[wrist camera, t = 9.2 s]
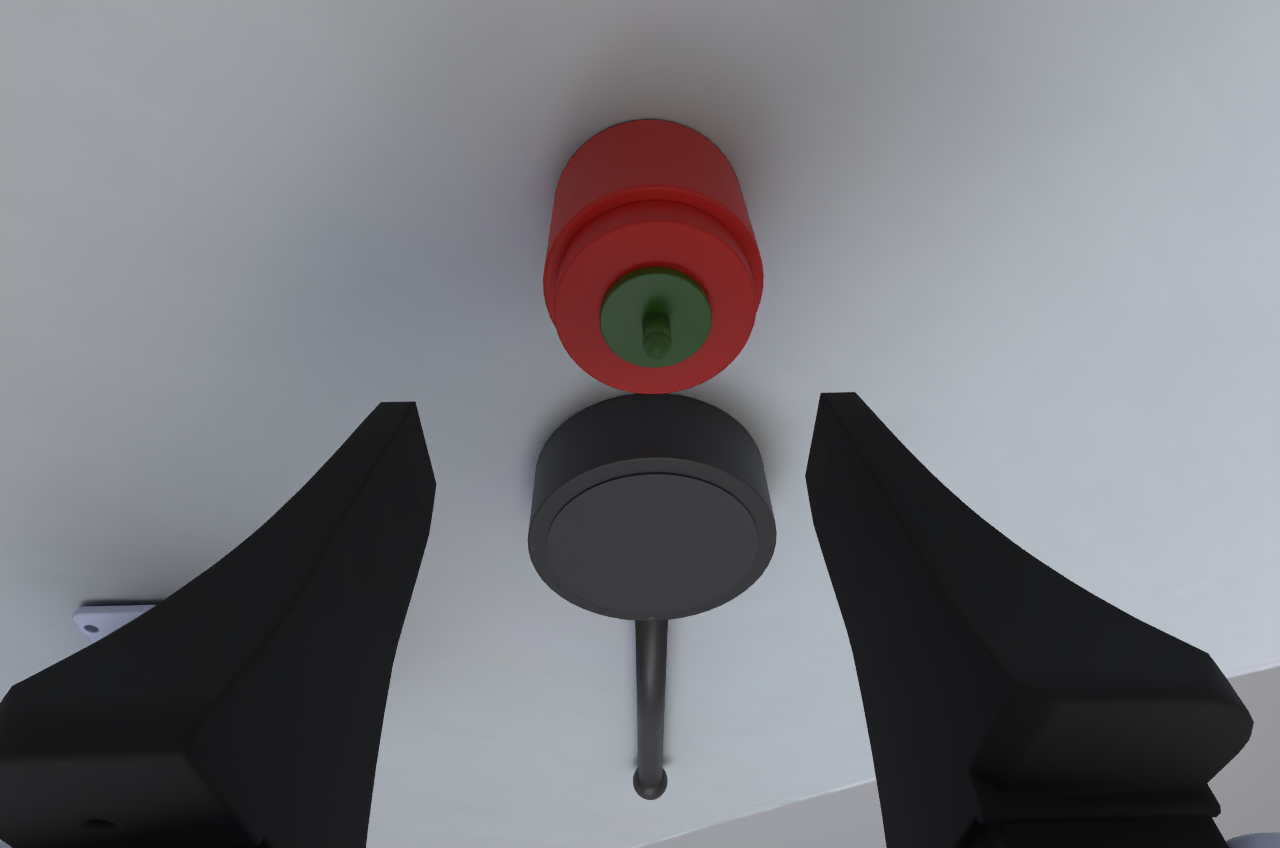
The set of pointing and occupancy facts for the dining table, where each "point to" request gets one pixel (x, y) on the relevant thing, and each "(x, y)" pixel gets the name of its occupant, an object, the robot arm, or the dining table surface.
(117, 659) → the robot arm
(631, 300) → the pepper
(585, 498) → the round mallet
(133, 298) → the dining table surface
